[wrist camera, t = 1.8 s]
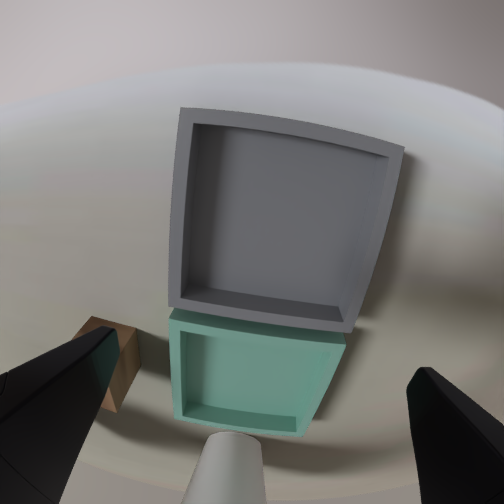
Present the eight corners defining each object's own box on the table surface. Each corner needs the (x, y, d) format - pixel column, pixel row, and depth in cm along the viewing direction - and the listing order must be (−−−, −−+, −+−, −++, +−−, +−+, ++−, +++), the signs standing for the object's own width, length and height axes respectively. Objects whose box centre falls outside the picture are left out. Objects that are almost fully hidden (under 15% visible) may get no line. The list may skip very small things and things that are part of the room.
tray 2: (180, 399, 26) (174, 418, 23) (178, 299, 21) (168, 318, 19) (301, 416, 25) (302, 436, 23) (340, 323, 21) (346, 344, 18)
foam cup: (207, 414, 26) (182, 526, 14) (289, 436, 27) (288, 542, 15) (186, 448, 30) (164, 535, 18) (254, 466, 31) (246, 551, 19)
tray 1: (179, 287, 20) (168, 306, 18) (192, 110, 16) (180, 107, 14) (344, 312, 20) (351, 333, 18) (388, 144, 16) (404, 146, 13)
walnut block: (99, 352, 24) (71, 395, 19) (91, 315, 22) (56, 358, 17) (141, 365, 24) (117, 413, 19) (136, 327, 22) (105, 376, 17)
